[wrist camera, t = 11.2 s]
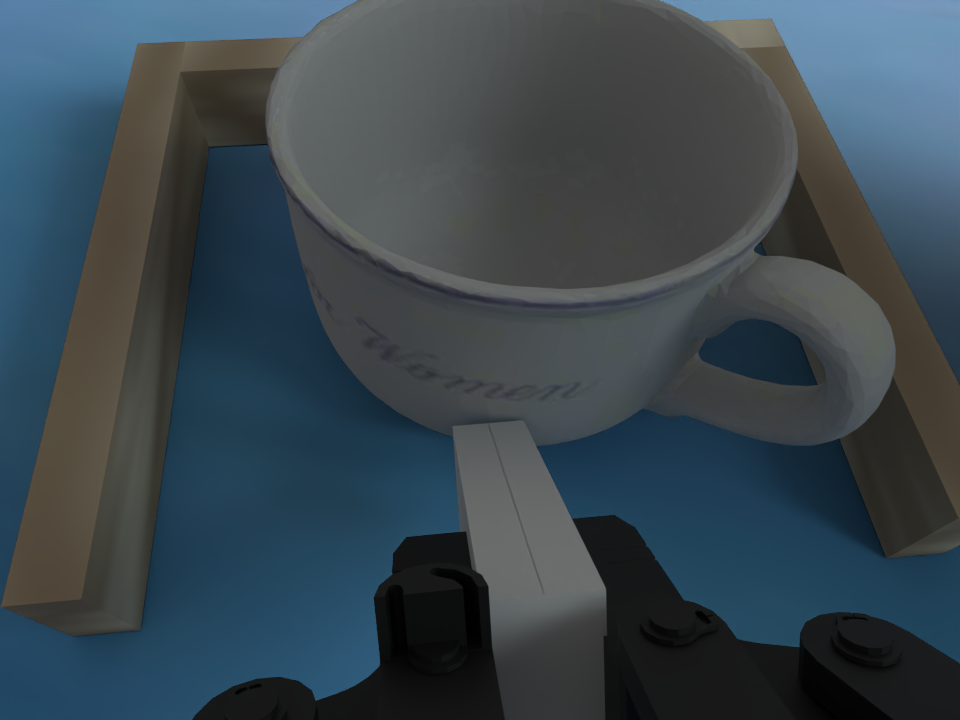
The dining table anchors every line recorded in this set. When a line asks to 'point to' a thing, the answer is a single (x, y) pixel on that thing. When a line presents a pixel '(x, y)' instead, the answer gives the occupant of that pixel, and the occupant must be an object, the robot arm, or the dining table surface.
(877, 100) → the dining table surface
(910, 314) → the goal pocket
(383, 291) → the teacup
